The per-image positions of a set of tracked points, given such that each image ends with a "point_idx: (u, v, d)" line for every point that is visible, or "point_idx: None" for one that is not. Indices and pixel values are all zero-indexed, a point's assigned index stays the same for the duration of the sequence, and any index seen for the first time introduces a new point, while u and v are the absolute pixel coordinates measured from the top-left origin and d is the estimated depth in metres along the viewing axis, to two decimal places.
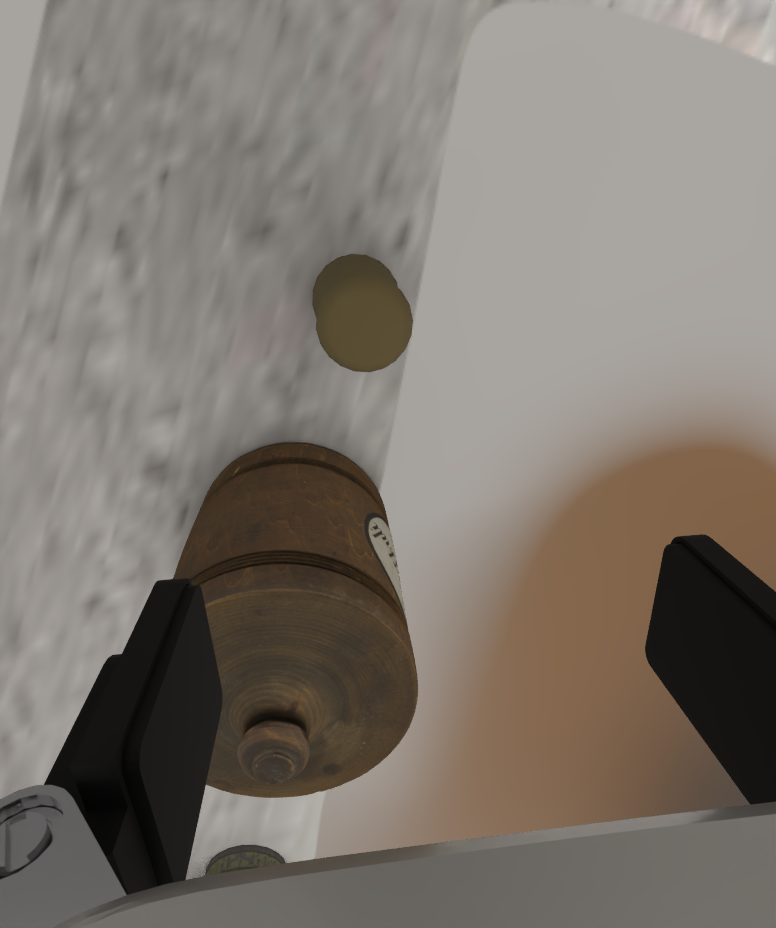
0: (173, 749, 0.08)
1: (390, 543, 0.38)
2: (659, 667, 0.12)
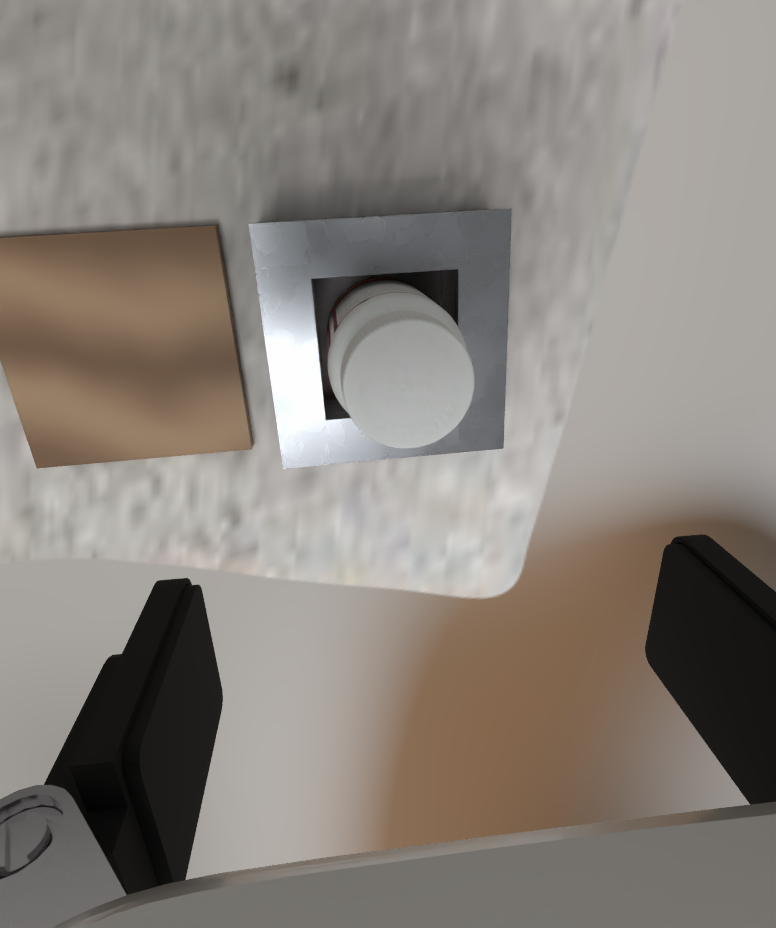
0: (173, 749, 0.08)
1: None
2: (659, 667, 0.12)
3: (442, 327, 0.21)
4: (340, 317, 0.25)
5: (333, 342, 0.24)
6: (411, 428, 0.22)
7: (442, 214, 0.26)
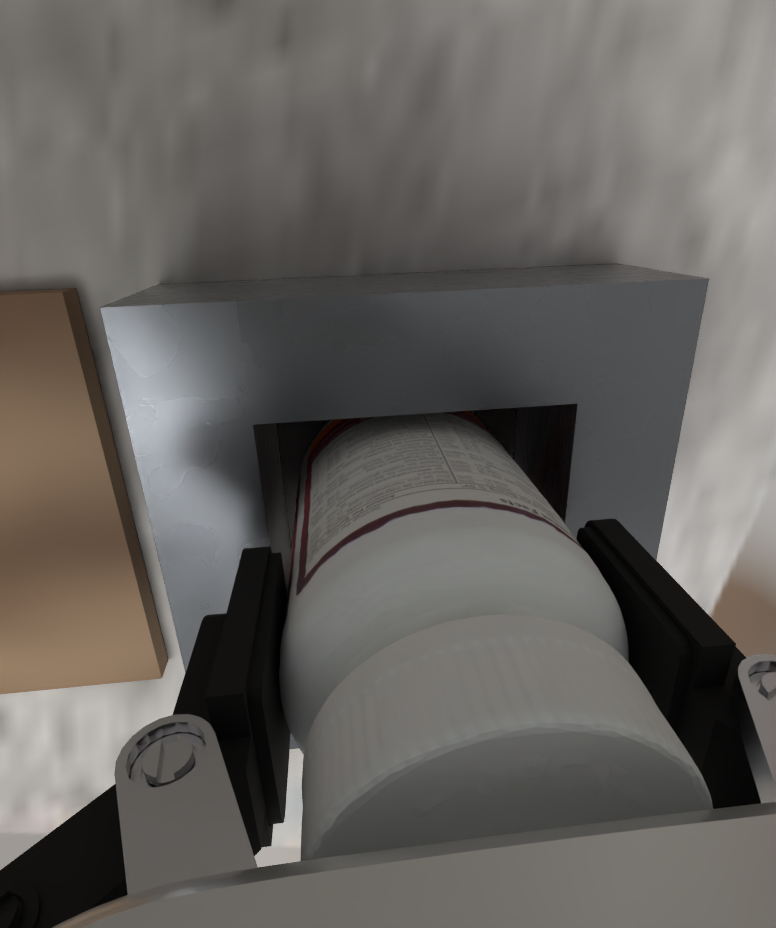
0: (275, 694, 0.09)
1: None
2: None
3: (642, 734, 0.06)
4: (315, 537, 0.10)
5: (291, 636, 0.09)
6: None
7: (554, 290, 0.11)
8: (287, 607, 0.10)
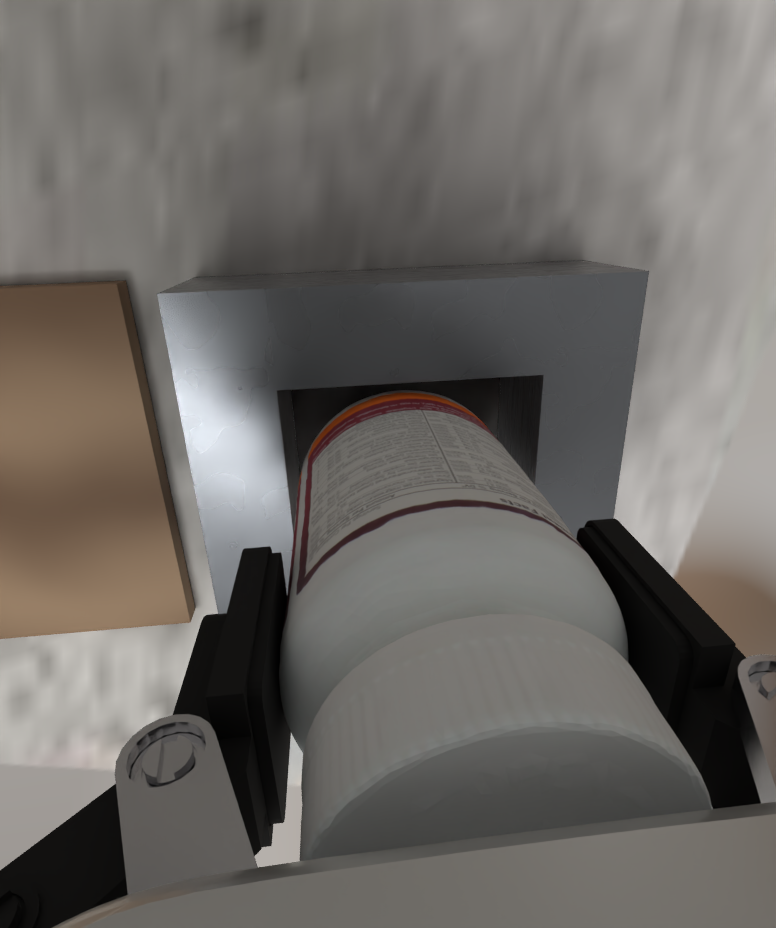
0: (275, 693, 0.09)
1: None
2: None
3: (641, 733, 0.06)
4: (315, 537, 0.10)
5: (291, 636, 0.09)
6: None
7: (522, 280, 0.14)
8: (287, 606, 0.10)
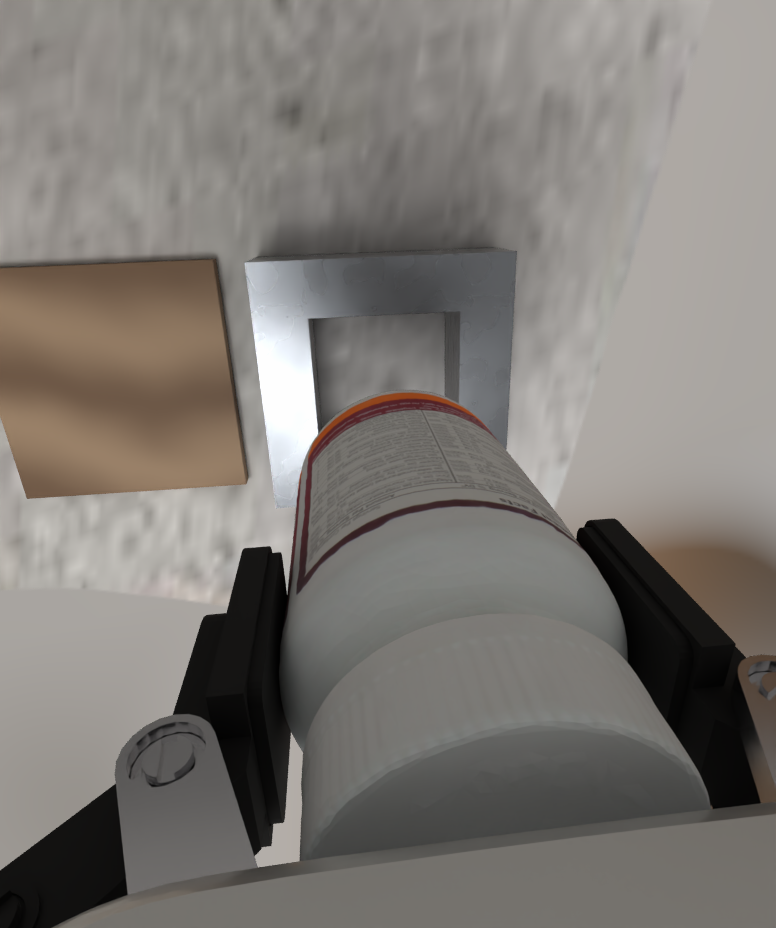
0: (275, 693, 0.09)
1: None
2: None
3: (640, 732, 0.06)
4: (315, 536, 0.10)
5: (291, 635, 0.09)
6: None
7: (444, 256, 0.25)
8: (287, 606, 0.10)
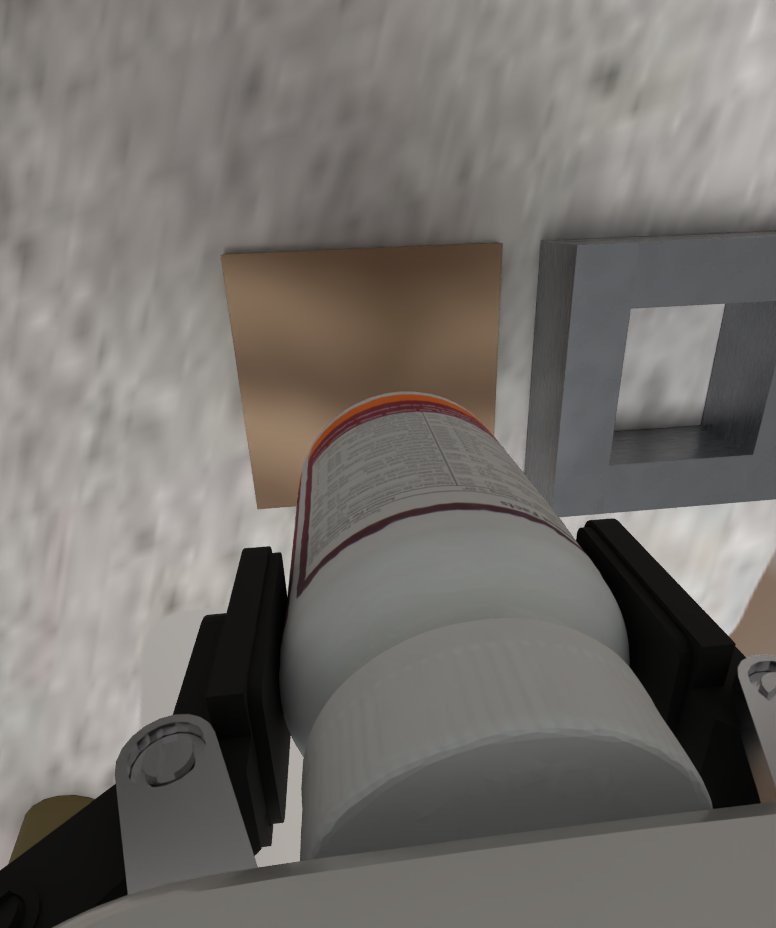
0: (275, 693, 0.09)
1: None
2: None
3: (642, 739, 0.06)
4: (315, 540, 0.10)
5: (291, 639, 0.09)
6: None
7: None
8: (287, 609, 0.10)
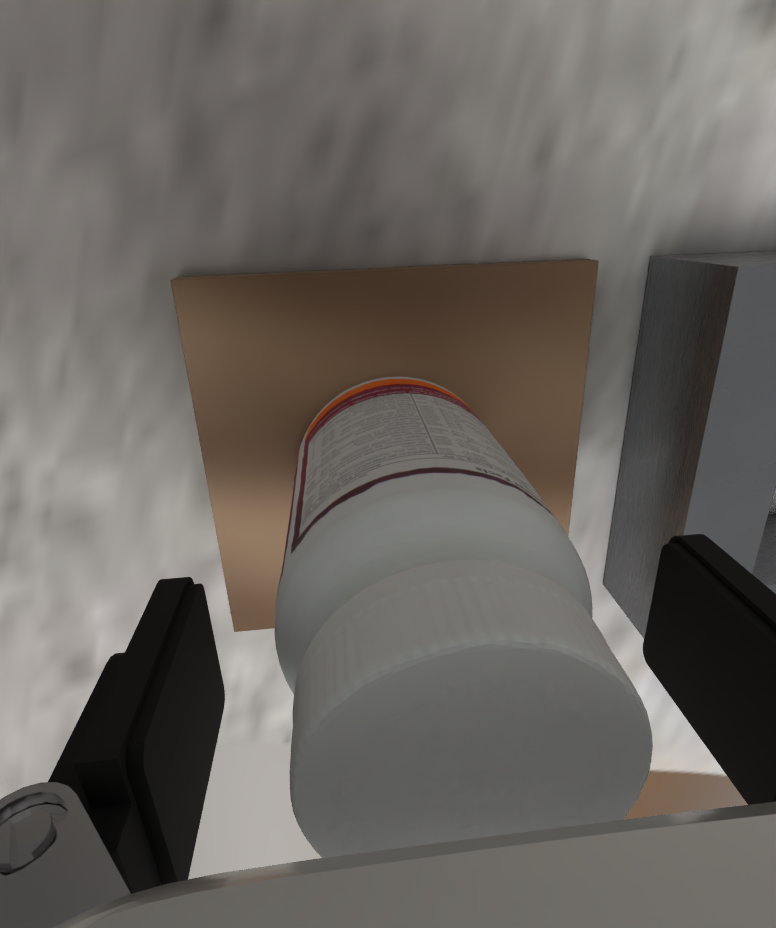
0: (176, 747, 0.08)
1: None
2: (657, 666, 0.12)
3: (583, 654, 0.07)
4: (308, 504, 0.11)
5: (285, 588, 0.10)
6: None
7: None
8: (283, 566, 0.11)
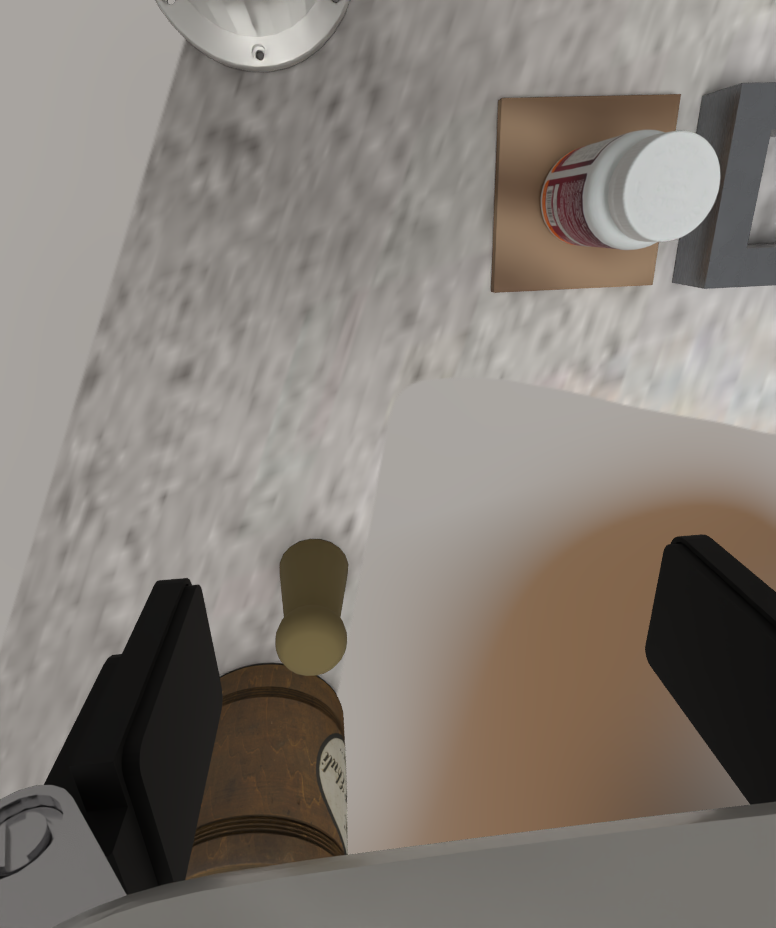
0: (173, 749, 0.08)
1: (339, 762, 0.49)
2: (659, 667, 0.12)
3: None
4: (590, 155, 0.32)
5: (596, 167, 0.31)
6: (667, 223, 0.29)
7: None
8: (583, 175, 0.32)
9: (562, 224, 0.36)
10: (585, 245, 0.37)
